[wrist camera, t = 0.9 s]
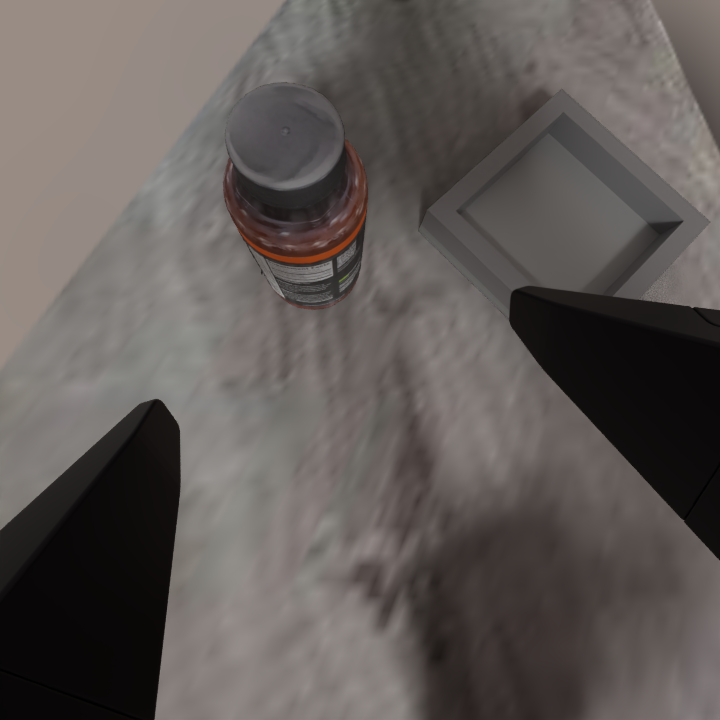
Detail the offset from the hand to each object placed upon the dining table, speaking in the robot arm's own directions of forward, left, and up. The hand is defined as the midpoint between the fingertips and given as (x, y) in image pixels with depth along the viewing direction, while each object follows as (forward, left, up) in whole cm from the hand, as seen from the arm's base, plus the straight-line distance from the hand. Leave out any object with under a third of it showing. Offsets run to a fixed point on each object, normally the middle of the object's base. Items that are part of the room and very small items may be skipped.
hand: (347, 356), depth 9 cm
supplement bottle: (+7, -4, -13) cm, 16 cm away
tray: (-2, -17, -13) cm, 22 cm away
